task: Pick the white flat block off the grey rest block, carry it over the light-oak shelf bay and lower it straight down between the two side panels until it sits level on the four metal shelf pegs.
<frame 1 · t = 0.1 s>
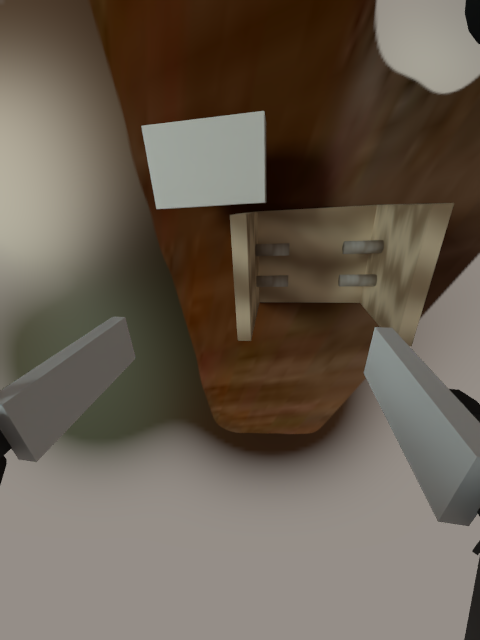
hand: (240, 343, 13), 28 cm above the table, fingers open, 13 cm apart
shelf bay: (310, 258, 37), on the table
white flat block: (211, 169, 29), point 6 cm above the table, touching rest block
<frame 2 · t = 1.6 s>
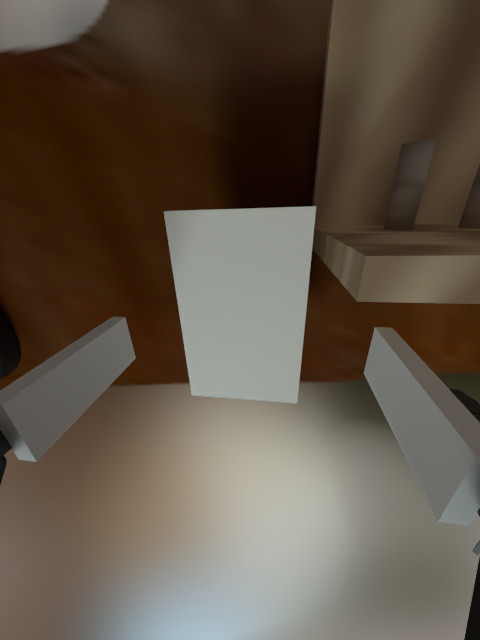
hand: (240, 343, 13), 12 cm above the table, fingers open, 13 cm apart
shelf bay: (429, 95, 16), on the table
white flat block: (245, 304, 18), point 6 cm above the table, touching rest block
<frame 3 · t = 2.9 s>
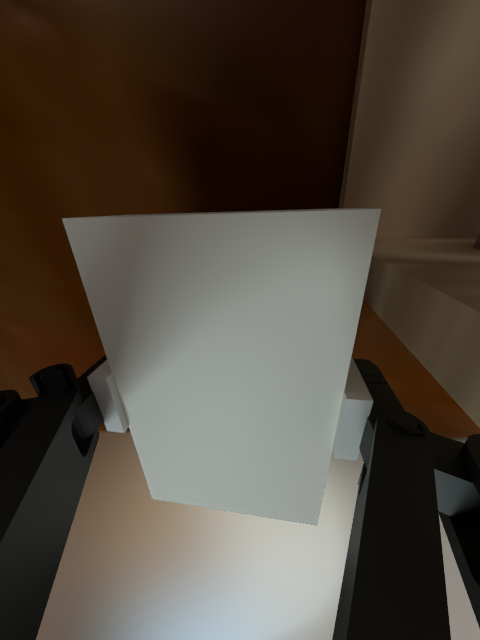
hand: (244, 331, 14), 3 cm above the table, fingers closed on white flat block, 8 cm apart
white flat block: (235, 362, 11), point 6 cm above the table, touching gripper, rest block
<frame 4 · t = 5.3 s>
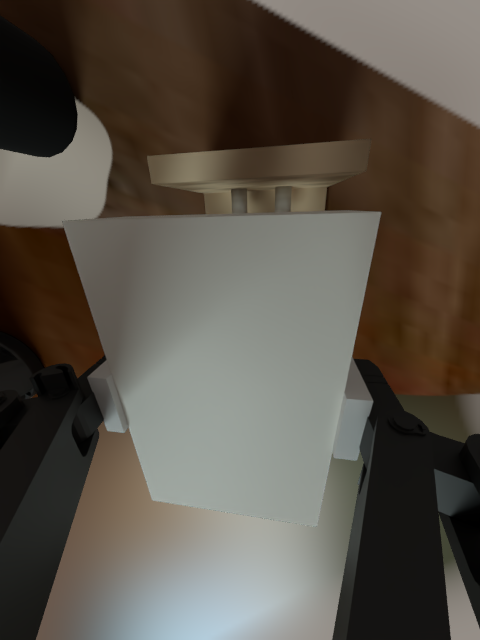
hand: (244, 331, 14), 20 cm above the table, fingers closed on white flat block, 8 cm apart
coffee jar: (41, 105, 28), on the table
shelf bay: (263, 259, 31), on the table
white flat block: (235, 363, 11), point 23 cm above the table, touching gripper
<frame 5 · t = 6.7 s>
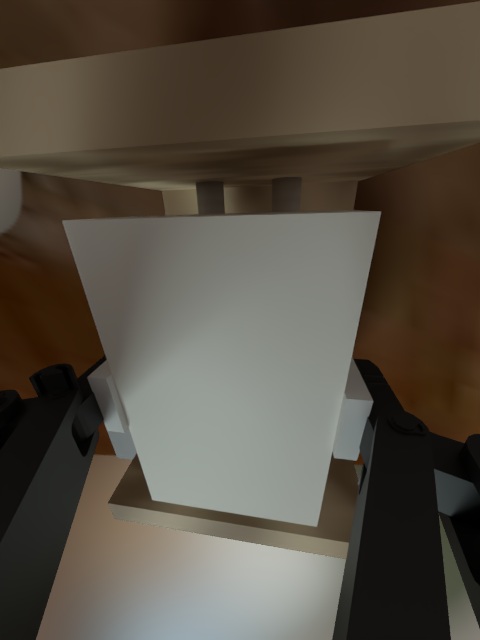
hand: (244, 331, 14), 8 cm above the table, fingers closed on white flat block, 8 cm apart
shelf bay: (255, 289, 21), on the table
white flat block: (235, 363, 11), point 11 cm above the table, touching gripper
rest block: (156, 391, 29), on the table
when the fingers open (4 cm above the table, at t = 7.9 s): white flat block drops 1 cm, resting on shelf bay.
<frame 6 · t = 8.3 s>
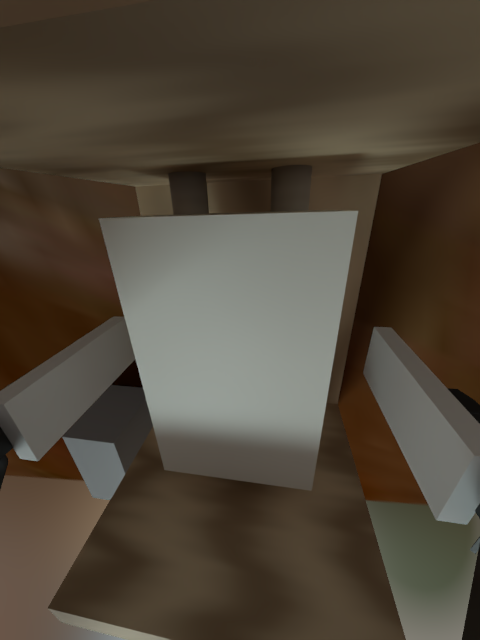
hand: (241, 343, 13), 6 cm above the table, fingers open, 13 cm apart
shelf bay: (252, 305, 18), on the table
white flat block: (239, 346, 13), point 6 cm above the table, touching shelf bay
rest block: (140, 416, 25), on the table
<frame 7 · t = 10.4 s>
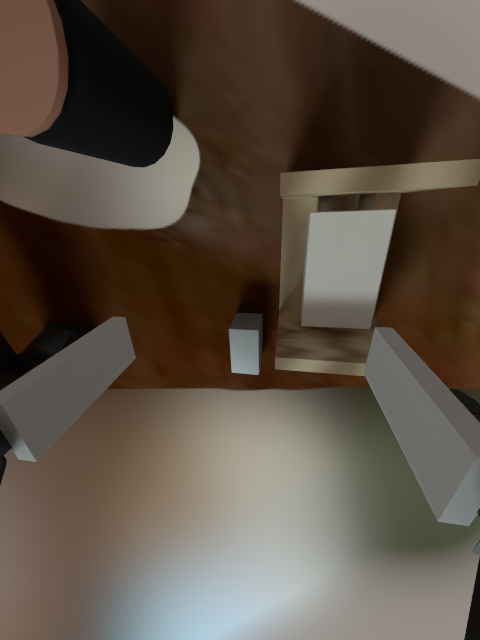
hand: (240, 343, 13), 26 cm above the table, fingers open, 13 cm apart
coffee jar: (139, 121, 31), on the table
shelf bay: (330, 259, 34), on the table
white flat block: (337, 269, 29), point 6 cm above the table, touching shelf bay
rest block: (249, 333, 42), on the table
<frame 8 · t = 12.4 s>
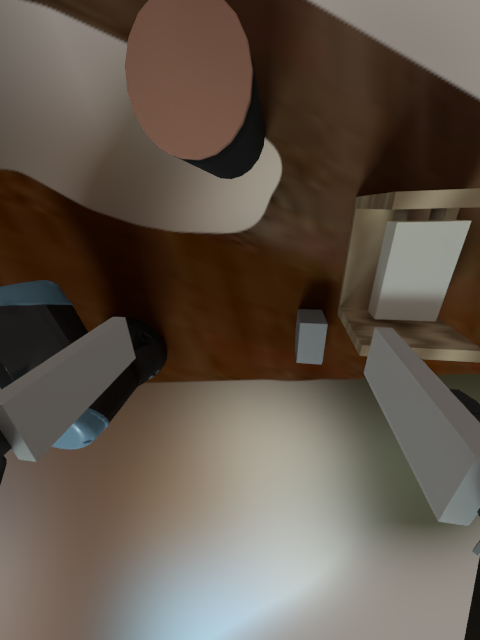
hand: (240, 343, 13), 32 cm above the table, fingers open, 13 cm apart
coffee jar: (229, 138, 35), on the table
shelf bay: (390, 261, 39), on the table
white flat block: (406, 269, 34), point 6 cm above the table, touching shelf bay
rest block: (307, 328, 46), on the table
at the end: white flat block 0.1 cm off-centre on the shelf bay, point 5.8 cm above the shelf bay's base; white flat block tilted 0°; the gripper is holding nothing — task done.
